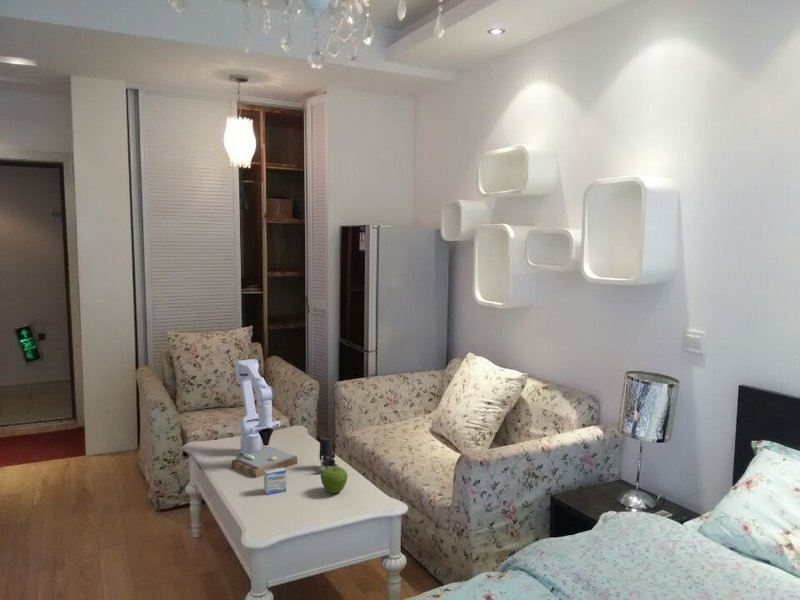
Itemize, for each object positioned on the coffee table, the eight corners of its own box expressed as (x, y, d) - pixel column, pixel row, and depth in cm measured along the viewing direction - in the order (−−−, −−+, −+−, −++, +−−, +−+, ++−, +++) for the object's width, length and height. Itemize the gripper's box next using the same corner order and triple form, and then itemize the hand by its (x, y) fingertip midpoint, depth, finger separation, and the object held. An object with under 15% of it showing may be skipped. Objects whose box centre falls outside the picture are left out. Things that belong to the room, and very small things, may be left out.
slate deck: (235, 459, 267) (234, 453, 267) (270, 448, 281) (270, 443, 281) (258, 469, 256) (258, 463, 256) (293, 457, 270) (293, 451, 270)
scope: (320, 443, 257) (314, 436, 266) (320, 474, 258) (314, 466, 267) (339, 440, 260) (332, 433, 269) (339, 471, 262) (332, 464, 271)
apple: (316, 489, 243) (316, 465, 242) (340, 484, 248) (340, 460, 247) (327, 499, 234) (327, 474, 233) (352, 493, 239) (352, 469, 238)
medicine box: (267, 495, 238) (266, 473, 237) (264, 491, 242) (263, 469, 241) (286, 491, 241) (286, 470, 241) (283, 487, 245) (283, 466, 244)
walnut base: (231, 467, 267) (231, 460, 266) (272, 453, 283) (272, 447, 283) (256, 477, 255) (256, 470, 255) (297, 463, 271) (297, 456, 271)
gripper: (256, 420, 258) (257, 451, 259) (284, 413, 269) (284, 442, 270) (247, 417, 263) (247, 447, 264) (274, 410, 274) (274, 439, 275)
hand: (265, 445), depth 267 cm, fingers closed
